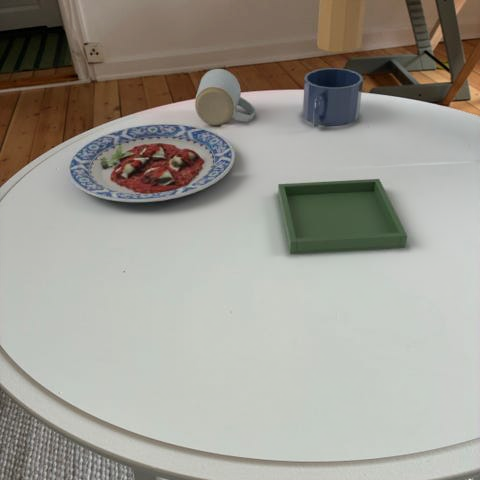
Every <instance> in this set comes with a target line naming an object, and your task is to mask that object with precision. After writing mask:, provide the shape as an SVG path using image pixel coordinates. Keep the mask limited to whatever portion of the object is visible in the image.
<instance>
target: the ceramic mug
mask: <svg viewBox="0 0 480 480" xmlns="http://www.w3.org/2000/svg"><path fill="white" fill-rule="evenodd" d="M241 93H242V90H241V84H240V83H239V80H238V79H237V77H236V76H235V75H234V74H233V73H231V72H230V71H229V70H226V69H224V68H214V69H211V70H209V71H207V72H205V73H204V75H203V76H202V77H201V80H200V82H199V86H198V89H197V93H196V95H195V100H194V107H195V108H194V109H195V112H196V114H197V116H198V117H199V118H200V119H201V121H202V122H204V123H205V124H208V125H209V126H215V127H216V126H221V125H224V124H226V123H228V122H229V121H230V120H231V119H233V120H235V121H238V122H242V123H247V122H250V121H252V120H253V119H254V118H255V116H256V114H257V111H256V108H255V107H254V106H253V104H251V102H249V101H248V100H247V99H245V98H243V97H242V96H241ZM238 106H239V107H240V108H242V109H243V110H244V111H246V112H247V113H249V114H245V113H243V112H240V111H237V107H238Z"/></svg>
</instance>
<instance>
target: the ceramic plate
mask: <svg viewBox="0 0 480 480" xmlns="http://www.w3.org/2000/svg"><path fill="white" fill-rule="evenodd" d="M76 151H77V152H75V154H73V156H72V157H71V159H70V160H69V163H68V167H67V171H68V176H69V178H70V180H71V183H73V184H74V185H75V186H76V187H77V188H78V189H79V190H81V191H83V192H85V193H86V194H87V195H88V194H89V195H91V196H94V197H96V198H100V199H103V200H108V201H113V202H123V203H150V202H151V203H152V202H153V203H154V202H162V201H167V200H172V199H177V198H182V197H185V196H188V195H192V194H195V193H197V192H200V191H203V190H205V189H206V188H208V187H210V186H212V185H214V184H216V183H217V182H219V181H220V180H221V179H223V178H224V177H225V176H226V175H227V174H228V173H229V172H230V170H231V169H232V168H233V167H234V166H233V165H234V163H235V159H236V158H235V157H236V152H235V149H234V147H233V146H232V144H231V143H230V142H229V140H227V139H226V138H225V137H224V136H222V135H220V134H219V133H216V132H214V131H212V130H210V129H207V128H203V127H199V126H196V125H188V124H187V125H186V124H179V123H152V124H144V125H138V126H131V127H125V128H122V129H119V130H115V131H111V132H109V133H106V134H104V135H101V136H99V137H96V138H95V139H93V140H91V141H89V142H87V143H86V144H84V146H82V147H81V148H80V149H78V150H76Z"/></svg>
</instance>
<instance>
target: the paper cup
mask: <svg viewBox="0 0 480 480" xmlns="http://www.w3.org/2000/svg"><path fill="white" fill-rule="evenodd" d="M366 6H367V0H319V7H318V23H317V39H316V46H317V48H318V49H319V50H323V51H326V52H330V53H347V52H354V51H357V50H358V49H360V48H362V43H363V34H364V23H365V15H366Z"/></svg>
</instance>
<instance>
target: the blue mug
mask: <svg viewBox="0 0 480 480" xmlns="http://www.w3.org/2000/svg"><path fill="white" fill-rule="evenodd" d="M363 83H364V79H363V75H361V74H360V73H359V72H357V71H354V70H352V69H351V70H350V69H346V68H340V67H339V68H338V67H332V68H331V67H329V68H328V67H327V68H320V69H314V70H312V71H309V72H307V74H305V75H304V79H303V97H302V98H303V99H302V117H303V118H304V119H305V121H307V122H309V123H311V124H312V126H313V128H318V127H319V126H323V127H340V126H345V125H350V124H353V123H354V122H355V121H357V120H358V119H359V117H360V110H361V108H360V107H361V100H362V92H363V85H364V84H363Z"/></svg>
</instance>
